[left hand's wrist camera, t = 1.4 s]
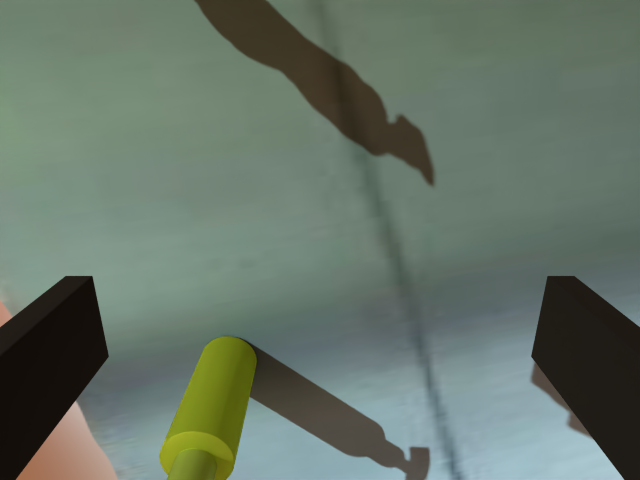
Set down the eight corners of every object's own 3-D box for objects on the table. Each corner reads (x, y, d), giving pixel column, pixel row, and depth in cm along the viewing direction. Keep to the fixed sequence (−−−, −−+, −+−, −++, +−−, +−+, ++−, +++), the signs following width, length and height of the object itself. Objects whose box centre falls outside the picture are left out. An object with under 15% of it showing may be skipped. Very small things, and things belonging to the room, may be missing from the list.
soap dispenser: (257, 329, 45) (213, 508, 26) (256, 383, 48) (214, 582, 29) (200, 325, 45) (115, 503, 26) (202, 380, 47) (125, 578, 29)
